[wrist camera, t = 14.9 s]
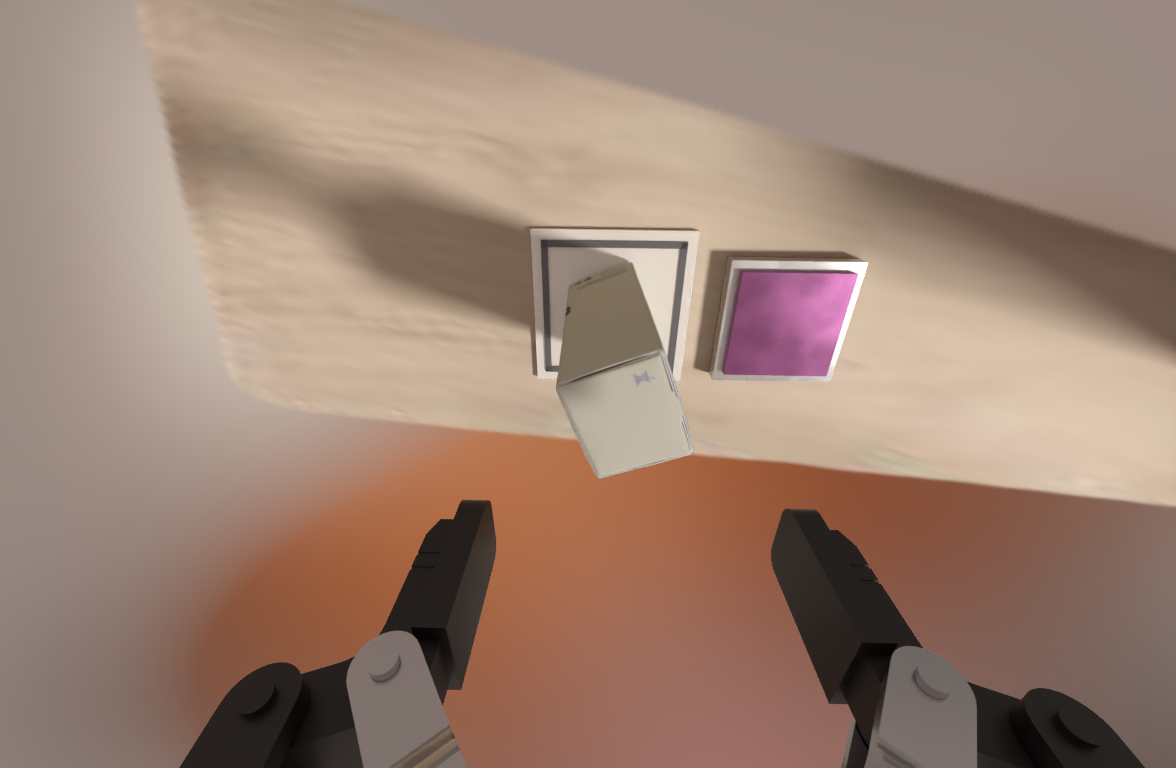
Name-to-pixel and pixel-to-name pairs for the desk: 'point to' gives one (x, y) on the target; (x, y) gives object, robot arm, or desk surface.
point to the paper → (588, 252)
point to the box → (618, 377)
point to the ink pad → (784, 317)
